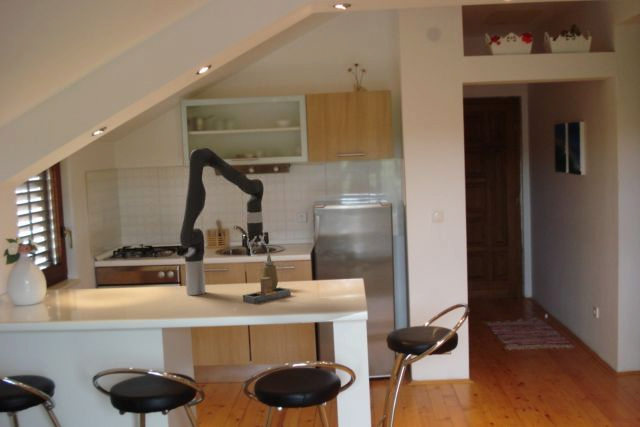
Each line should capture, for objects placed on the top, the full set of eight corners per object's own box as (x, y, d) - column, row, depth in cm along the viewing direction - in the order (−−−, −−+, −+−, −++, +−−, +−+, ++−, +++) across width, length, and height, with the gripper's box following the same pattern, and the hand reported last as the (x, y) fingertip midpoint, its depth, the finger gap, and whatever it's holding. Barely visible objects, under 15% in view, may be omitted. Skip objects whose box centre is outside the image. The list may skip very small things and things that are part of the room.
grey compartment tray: (242, 301, 336) (242, 294, 336) (279, 293, 350) (279, 286, 350) (253, 304, 329) (253, 297, 329) (290, 295, 344) (290, 289, 343)
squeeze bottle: (281, 288, 362) (279, 253, 360) (272, 291, 356) (270, 256, 354) (268, 287, 367) (267, 252, 365) (259, 290, 360) (257, 255, 358)
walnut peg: (261, 298, 340) (260, 278, 339) (268, 297, 343) (266, 277, 342) (266, 299, 337) (265, 279, 336) (272, 298, 340) (271, 278, 339)
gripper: (262, 219, 344) (263, 251, 346) (238, 222, 335) (239, 255, 337) (271, 220, 338) (272, 253, 340) (247, 223, 329) (248, 257, 331)
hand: (256, 254), depth 338 cm, fingers open, 8 cm apart
